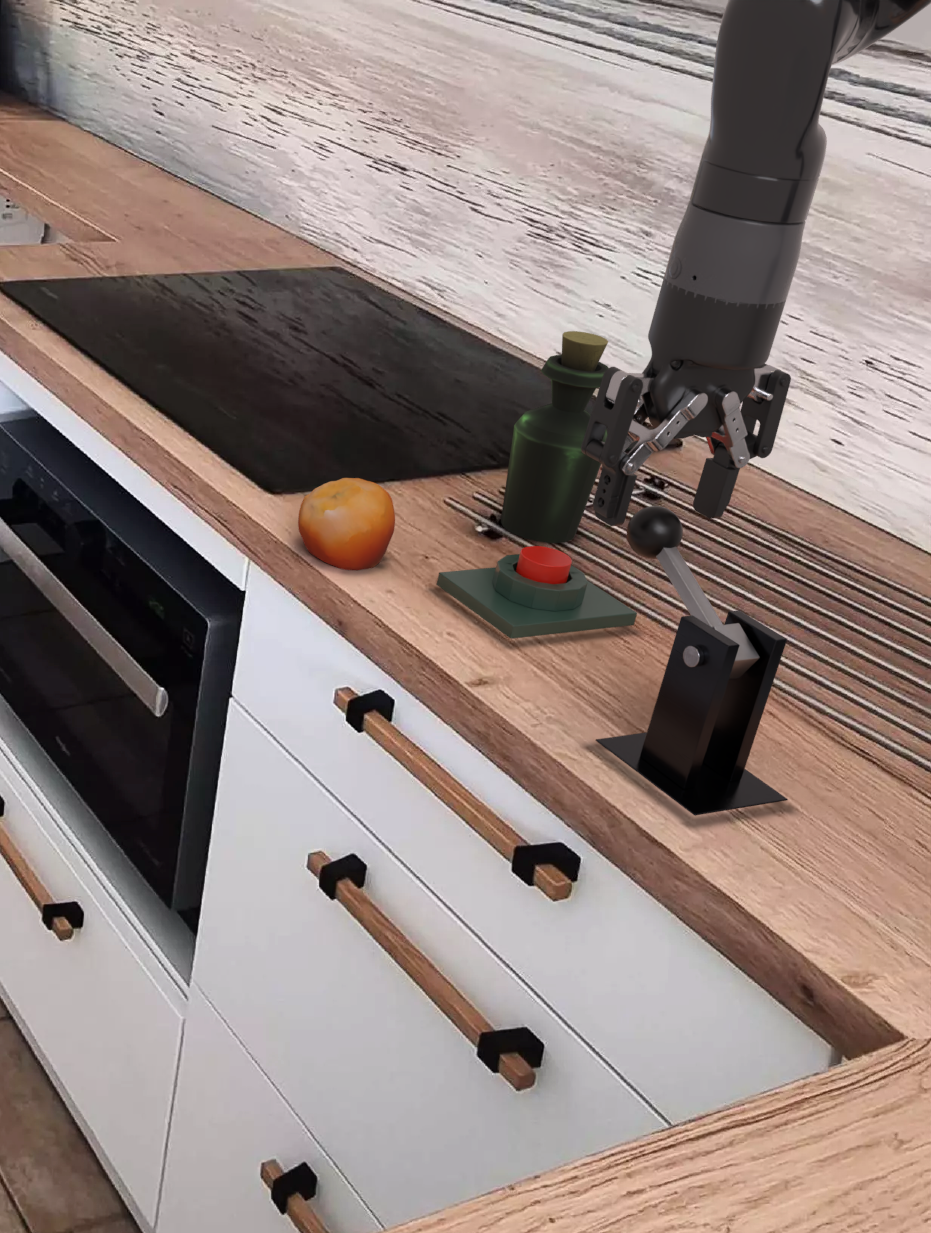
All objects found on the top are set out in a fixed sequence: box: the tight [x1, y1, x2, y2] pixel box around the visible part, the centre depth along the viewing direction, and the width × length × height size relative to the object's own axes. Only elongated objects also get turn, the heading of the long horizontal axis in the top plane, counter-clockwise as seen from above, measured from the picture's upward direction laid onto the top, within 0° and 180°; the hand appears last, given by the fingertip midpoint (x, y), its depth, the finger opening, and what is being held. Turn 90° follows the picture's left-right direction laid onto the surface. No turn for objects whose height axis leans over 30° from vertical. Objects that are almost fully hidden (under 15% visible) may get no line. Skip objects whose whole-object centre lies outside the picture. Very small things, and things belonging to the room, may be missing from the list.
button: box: [516, 545, 573, 584], centre depth 141 cm, size 4×4×2 cm
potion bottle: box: [500, 330, 609, 544], centre depth 155 cm, size 8×8×18 cm
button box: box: [436, 553, 638, 640], centre depth 142 cm, size 12×10×4 cm
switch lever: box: [626, 505, 760, 679], centre depth 119 cm, size 13×4×4 cm
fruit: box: [297, 477, 396, 571], centre depth 148 cm, size 8×8×8 cm
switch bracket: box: [595, 609, 789, 816], centre depth 118 cm, size 10×8×12 cm
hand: (657, 517), depth 120 cm, fingers open, 8 cm apart
